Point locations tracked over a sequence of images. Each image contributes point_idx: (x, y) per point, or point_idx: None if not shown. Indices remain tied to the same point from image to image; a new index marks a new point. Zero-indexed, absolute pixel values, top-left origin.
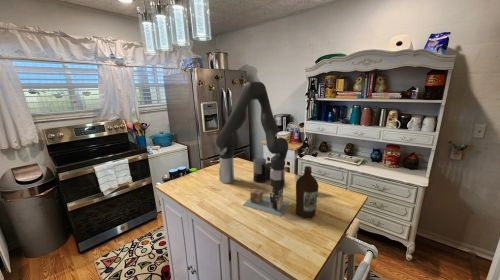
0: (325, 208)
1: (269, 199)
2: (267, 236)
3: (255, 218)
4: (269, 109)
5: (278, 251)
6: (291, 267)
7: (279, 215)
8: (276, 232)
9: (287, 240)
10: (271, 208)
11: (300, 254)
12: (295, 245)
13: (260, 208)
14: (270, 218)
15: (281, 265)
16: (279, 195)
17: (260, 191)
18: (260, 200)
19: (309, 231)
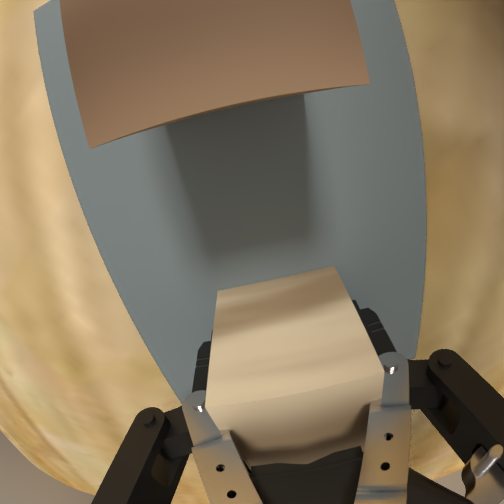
0: (416, 457)
1: (380, 167)
2: (15, 398)
3: (5, 276)
4: None
5: (27, 438)
6: (38, 463)
7: (180, 396)
8: (63, 420)
9: (81, 453)
10: (214, 305)
11: (84, 477)
12: (93, 469)
13: (115, 211)
14: (99, 362)
15: (17, 447)
16: (352, 435)
17: (274, 61)
18: (226, 108)
19: (199, 487)
